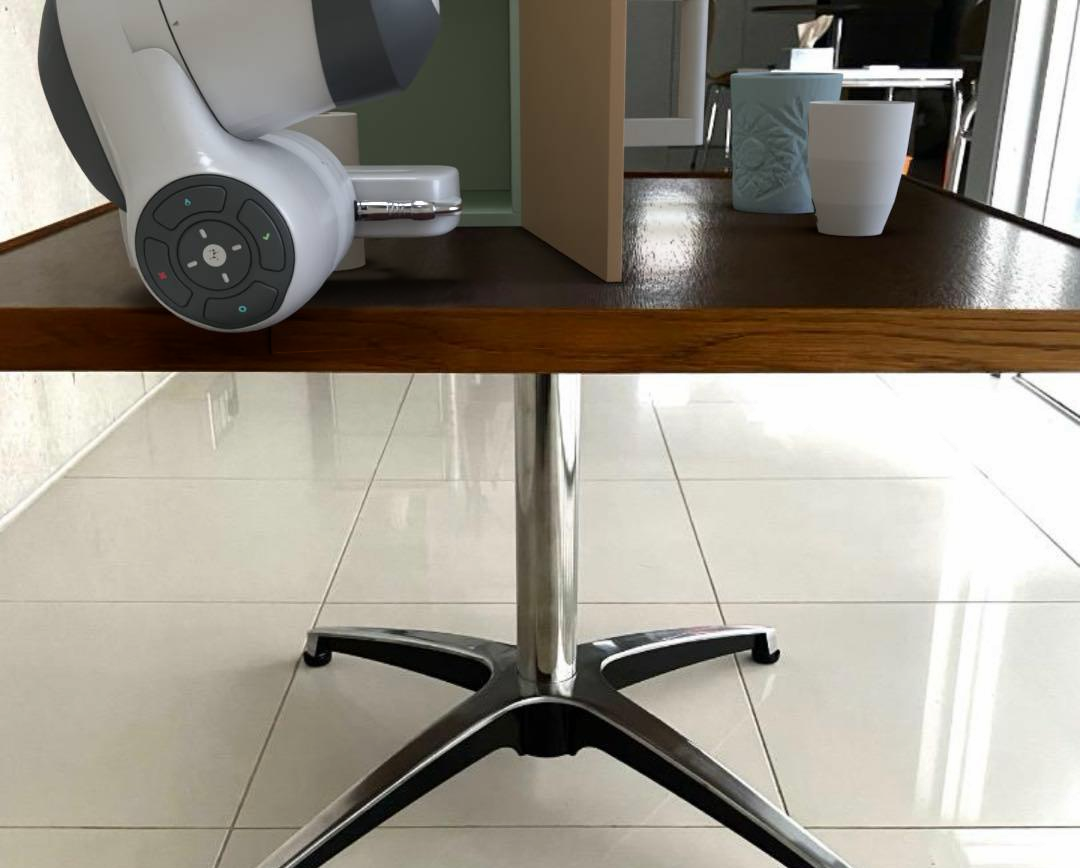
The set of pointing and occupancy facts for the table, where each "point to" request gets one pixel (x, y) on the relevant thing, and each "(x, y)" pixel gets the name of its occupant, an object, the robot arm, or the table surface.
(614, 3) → the cupboard door
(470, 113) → the cupboard
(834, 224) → the cup
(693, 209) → the table surface
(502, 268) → the table surface
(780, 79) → the embossed blue planter
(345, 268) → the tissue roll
